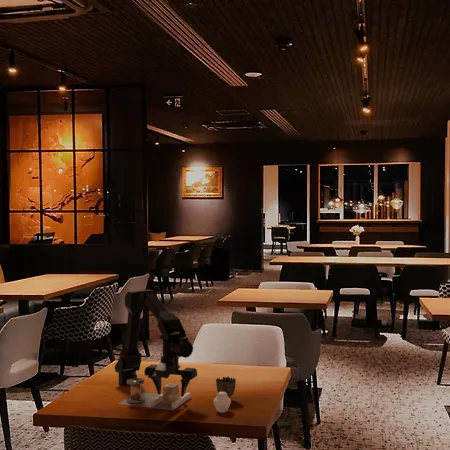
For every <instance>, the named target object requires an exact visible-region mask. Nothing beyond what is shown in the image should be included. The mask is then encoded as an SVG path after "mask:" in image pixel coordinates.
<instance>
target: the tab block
mask: <svg viewBox="0 0 450 450" xmlns="http://www.w3.org/2000/svg"><path fill="white" fill-rule="evenodd" d="M179 388H180V387H179V383H171V382H169V383H167V384H165V385H163V386H162V394H163V403H165V404H172V403H173V402H174V401H176V400H177V399H179V396H180V390H179Z"/></svg>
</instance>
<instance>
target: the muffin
mask: <svg viewBox="0 0 450 450" xmlns="http://www.w3.org/2000/svg"><path fill="white" fill-rule="evenodd" d="M212 402H213V404H214V407H215V408H216V412H219V413H227V412H228V409H229V408H230V405H231V404H232V400H230V398H228V396H227V393H226V392H219V393H218V392H217V394H216V397H215V398H213V401H212Z"/></svg>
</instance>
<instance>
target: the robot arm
mask: <svg viewBox="0 0 450 450" xmlns="http://www.w3.org/2000/svg"><path fill="white" fill-rule="evenodd" d="M124 306H125V309H126V311H127V312H128V313H127V322H126V333H125V342H124V344H125V345H124V347H123V348H122V349H121V350H120V352H119V356H118V357H119V358H118V360H117V362H116V363H115V365H114V371H115V372H116V373H118V385H120V386H127V387H128V386H130V385H129V384H127V380H128V379H132V378H138V375H137V372H138V371H140V368H141V363H142V353H141V352H140V350H139V349H138V344H139V334H140V328H141V327H140V326H141V315H142V313H143V312H144V310H145V309H146V308H148V309H149V311H150V312H151V314H152V315H153V316H154V318H155V320H156V321H157V326H156V327H157V328H158V330H159V332H160V334H161V335H160V336H159V339H161V340H162V356H161V357H160V362H159V363H158V364H150V365H148V366H146V367H145V368H144V376H147V378H148V379H151V380H152V382H153V384H154V386H155V389H156V392H157V394H159V395H160V394H162V378H163V379H168V378H170V375H173V376H180V377H181V378H180V383H181V388H180V389H181V390H180V394H181V395H180V396H182V397H183V396H184V395H185V394H186V391H187V388H188V387H189V384H190V381H191V380H193V379H194V378H196V377H198V370H197V369H196V368H194V367H186V368H184V369H181V365H180V364H179V359H180V358H181V357H182V358H185V359H186V358H190V356H192V354H193V351H194V346H193V344H192V343H191V342H190V341H189V338H188V337H187V334H186V330H185V328H184V326H183V324H182V321H181V320H180V319H179V317H178V316H176V315H175V314H174V313H171V312H169V310H167V308H166V307H165V306H164V304H163V303H162V302H161V300H160V299H159V298H158V297H157V295H156V293H155V290H154V289H153V290H152V289H143V290H142V289H141V290H132V291H131V290H130V291H127V292H126V293H125V296H124Z"/></svg>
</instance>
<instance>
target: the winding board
mask: <svg viewBox="0 0 450 450" xmlns="http://www.w3.org/2000/svg"><path fill="white" fill-rule="evenodd" d="M141 397H144V398H145V401H144V402H143V403H139V404H130V403H128V402H127V398H126V399H124V400H122V401H121V402H119V403H118V405H123V406H134V407H142V408H151V409H160V410H168V411H175V410H176V409H178V408H179V407H180V406H182V405H183V404H184V403H186V402H188V401H189V400H191V399H192V397H191V392H185V394H184V396H183V397H182V396H181V395H179V399H177V400H176V401H174V402H173V403H172V404H165V403H163V393H161V394H160V395H159V394H158V393H155V392H144V391H141Z"/></svg>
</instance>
